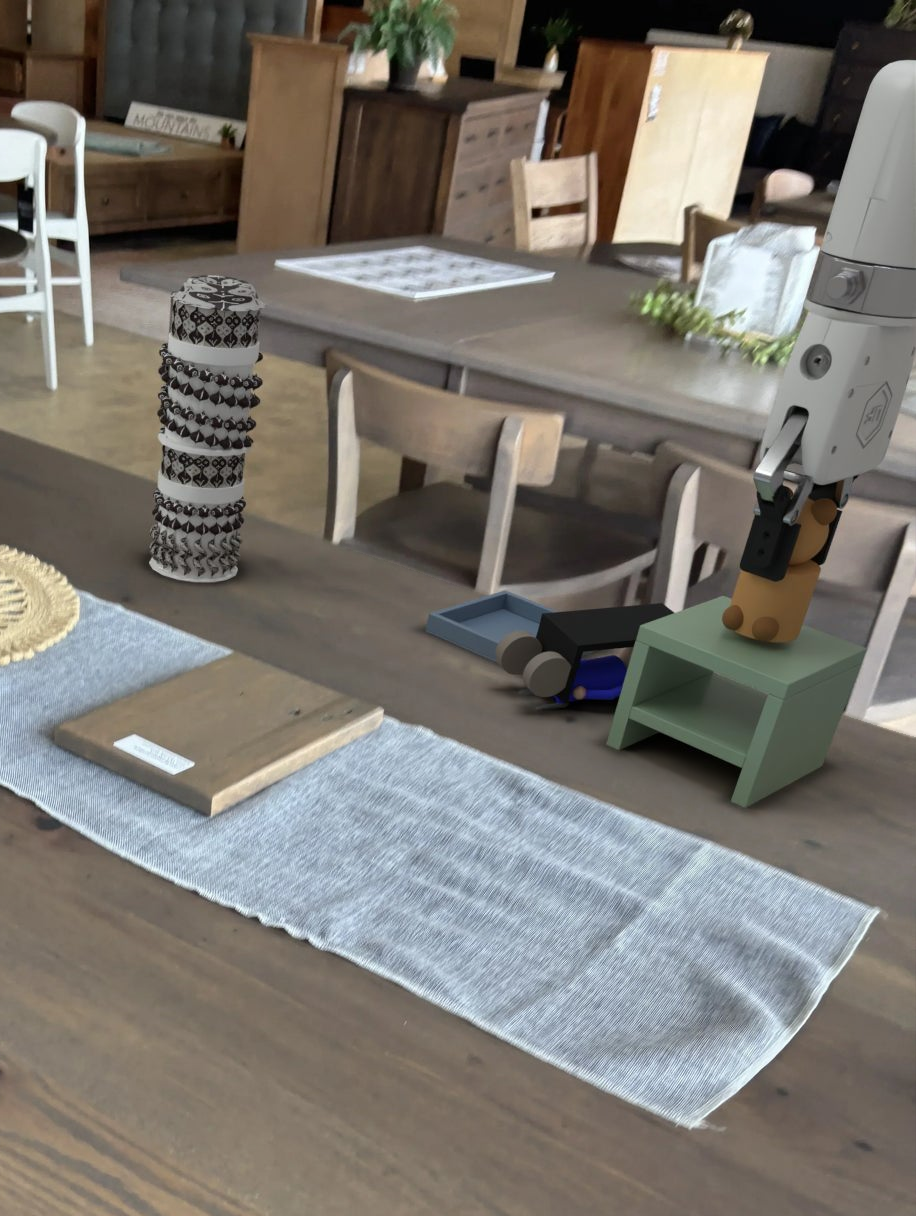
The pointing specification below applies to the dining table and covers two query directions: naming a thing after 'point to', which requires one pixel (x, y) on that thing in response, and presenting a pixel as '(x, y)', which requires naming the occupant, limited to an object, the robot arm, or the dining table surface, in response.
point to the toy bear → (783, 584)
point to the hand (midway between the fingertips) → (782, 565)
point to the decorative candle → (205, 428)
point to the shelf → (737, 695)
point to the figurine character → (576, 652)
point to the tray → (487, 621)
